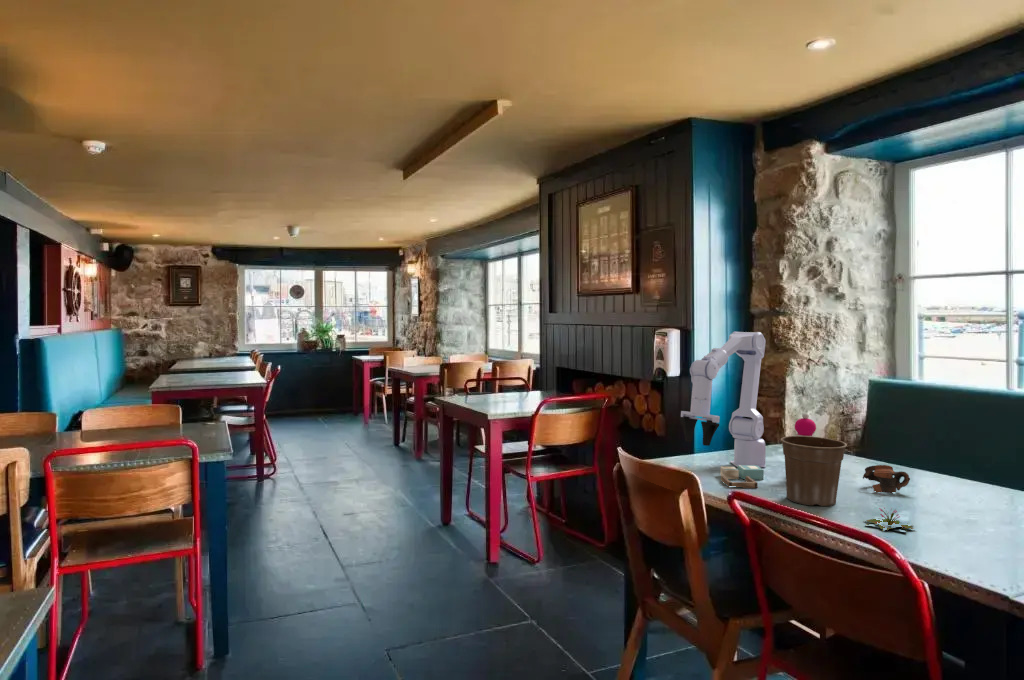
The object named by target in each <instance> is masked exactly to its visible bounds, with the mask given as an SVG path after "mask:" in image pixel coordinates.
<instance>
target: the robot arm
mask: <svg viewBox="0 0 1024 680" xmlns="http://www.w3.org/2000/svg"><path fill="white" fill-rule="evenodd" d="M765 350H766V338H765V337H764V334H763V333H762V332H760V331H756V332H755V331H754V332H752V331H750V332H749V331H748V332H747V331H745V332H744V331H732V332H731V333H730V334H729V336H728V340H727V341H726V342H725V343H724V344H723V345H722V346H721V347H718V348H717V347H713V348H712V349H711V351H710V352H709V353H707V354H706V355H703V357H702V358H701V359H696V360H694V361H693V362H692V363H691V365H690V368H689V374H690V376H691V377H690V379H691V380H690V381H691V384H692V389H691V390H692V391H691V399H690V411H686V410H680V418H679V422H680V425H681V427H682V430H683V434H684V435H683V436H684V440H685V441H684V442H686V443H692V441H693V439H694V432H695V427H696V425H697V423H698V421H699V420H700V424H701V427H702V429H701V430H702V445H703V446H706V447H707V446H709V447H710V445H711V442H712V440H713V437H714V434H715V433H716V431H717V430H718V428H719V427H720V416H719V415H714V414H711V403H712V401H711V400H712V391H713V389H712V388H713V380H714V379H716V377H717V376H718V372H719V371H720V369H721V368H723V366H725V365H726V364H727V363H728V361H729V358H730V356H732V355H733V354H736V355H737V356H738V357H740V358H742V360H743V361H744V363H743V373H742V379H741V380H742V381H741V383H742V384H741V389H740V399H739V407H738V408H737V409H736V410H734V411H733V412H732V413H731V418H730V420H729V423H728V431H729V433H730V435H732V438H734V447H733V448H734V450H733V451H734V452H733V453H734V454H733V460H729V463H731V464H732V465H734V467H735V468H736V467H737V466H738V465H757V466H759V467H760V468H766V467H767V465H766V441H765V440H764V439H763V438H762V436H763V434H764V432H765V431H764V430H765V429H764V428H765V427H764V417H763V415H762V414H761V413H760V412H759V411H758V410H757V402H758V401H757V400H758V393H759V385H760V374H761V364H762V360H763V358H764V357H765ZM700 417H701V418H700ZM746 417H747V418H746Z"/></svg>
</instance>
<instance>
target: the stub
mask: <svg viewBox="0 0 1024 680" xmlns="http://www.w3.org/2000/svg"><path fill="white" fill-rule="evenodd" d="M719 474H720V475H721V476H724V477H726V478H727V479H740V476H739V470H738V469H737V468H736V466H720V473H719ZM721 476H720V477H721Z"/></svg>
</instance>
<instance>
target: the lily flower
mask: <svg viewBox="0 0 1024 680" xmlns="http://www.w3.org/2000/svg"><path fill="white" fill-rule="evenodd" d="M883 508H884V509H885V511H884V510H883ZM883 508H881V507H879V508H878V509H879V510H880V511H881V512H883V514H882V513H880V516H881V517H882V518H881V519H882V520H883V522H888V525H892V524H893V523H895V524H899V523H901V522H900V520H897V519H899V518H901V515H899V514H898V511H897V509H894V510H893V511H892V513H891V511H890V513H889V511H888V510H886V508H885V507H883ZM890 509H891V510H892V507H891V508H890ZM895 513H897V514H896V515H895ZM889 514H890V515H889ZM894 515H895V516H894ZM883 518H884V519H883ZM891 520H892V521H891ZM893 520H894V521H893ZM895 520H896V521H895ZM864 521H865V523H866V525H868V524H869V523H871V524H877V522H878V523H880V522H882V521H880V520H876V519H873V518H872V519H867V520H864ZM866 521H867V522H866ZM888 525H887V526H888ZM883 526H884V525H883ZM883 526H881V525H878V526H877V527H879V529H883V528H885V527H886V526H884V527H883ZM901 526H902V528H901V529H906V530H909V529H908V528H911V529H914V528H913V527H912V526H908V525H901ZM903 527H905V528H903ZM889 529H892V527H887V531H888V530H889ZM911 529H910V530H911Z"/></svg>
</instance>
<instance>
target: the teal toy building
mask: <svg viewBox="0 0 1024 680" xmlns="http://www.w3.org/2000/svg"><path fill="white" fill-rule="evenodd" d="M736 469H738V470H739V478H741V479H742V480H743V479H746V476H749V477H750V478H751V479H753V480H754V481H756V480H758V481H759V480H761V481H762V480H764V479H765V477H764V475H765V474H764V473H765V472H764V469H763V467H759V466H757V465H738V466H737V468H736Z"/></svg>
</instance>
